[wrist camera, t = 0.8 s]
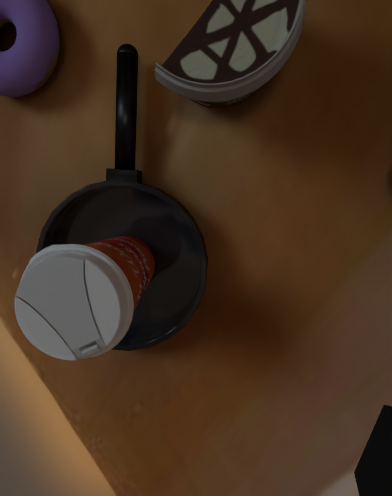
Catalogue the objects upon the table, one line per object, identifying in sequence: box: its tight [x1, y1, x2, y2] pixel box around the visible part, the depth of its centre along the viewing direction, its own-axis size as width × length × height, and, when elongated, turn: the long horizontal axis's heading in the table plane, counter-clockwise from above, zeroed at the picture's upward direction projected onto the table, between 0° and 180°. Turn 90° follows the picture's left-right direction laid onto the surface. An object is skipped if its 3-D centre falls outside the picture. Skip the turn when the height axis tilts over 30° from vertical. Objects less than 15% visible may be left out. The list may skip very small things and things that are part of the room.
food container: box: [154, 0, 306, 108], centre depth 27 cm, size 12×6×10 cm, turn 138°
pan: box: [36, 181, 208, 351], centre depth 34 cm, size 16×16×3 cm
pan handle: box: [106, 44, 142, 183], centre depth 32 cm, size 12×3×2 cm, turn 177°
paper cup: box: [15, 236, 155, 360], centre depth 29 cm, size 8×8×14 cm
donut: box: [0, 0, 60, 97], centre depth 32 cm, size 10×9×5 cm
